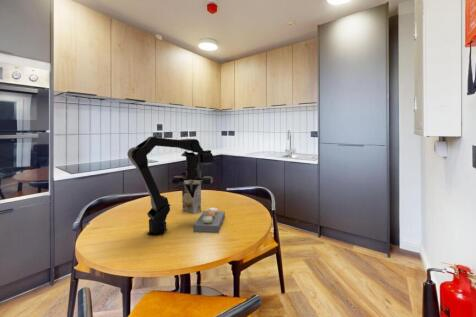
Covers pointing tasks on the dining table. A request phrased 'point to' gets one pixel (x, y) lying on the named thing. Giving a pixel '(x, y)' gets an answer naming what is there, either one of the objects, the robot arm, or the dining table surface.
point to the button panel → (212, 226)
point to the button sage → (207, 219)
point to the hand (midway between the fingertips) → (192, 197)
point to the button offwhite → (213, 210)
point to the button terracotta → (210, 214)
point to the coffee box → (191, 200)
